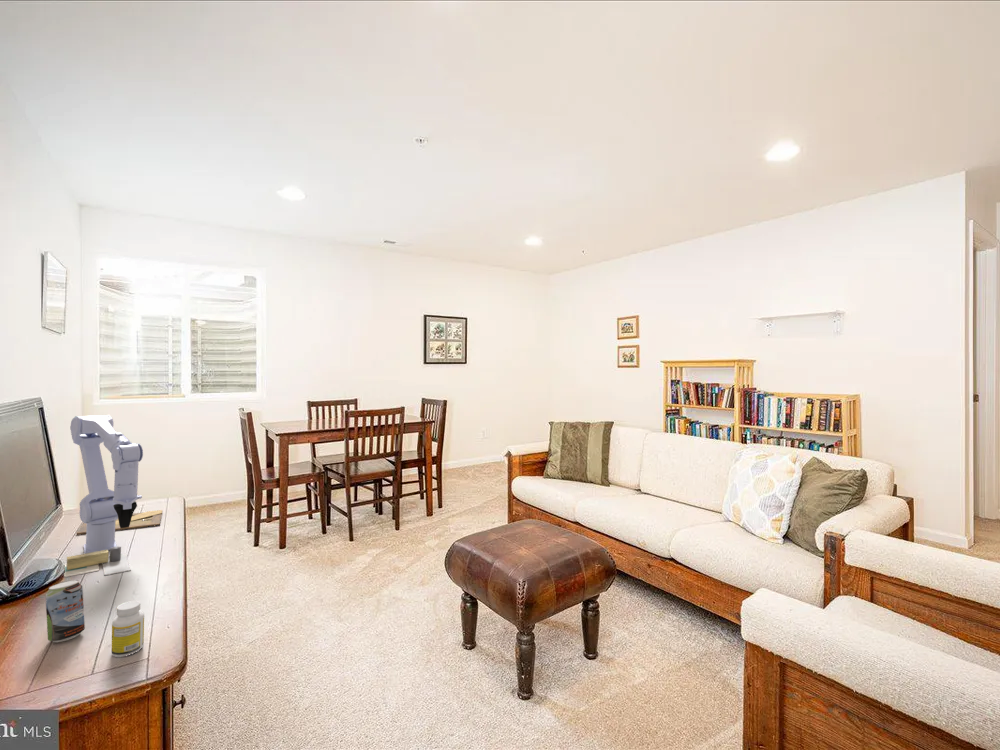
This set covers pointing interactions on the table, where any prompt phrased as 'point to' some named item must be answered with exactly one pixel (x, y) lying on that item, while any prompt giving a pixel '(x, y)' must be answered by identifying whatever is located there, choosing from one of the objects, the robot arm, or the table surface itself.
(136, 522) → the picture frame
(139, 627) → the supplement bottle
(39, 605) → the table surface
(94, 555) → the bar
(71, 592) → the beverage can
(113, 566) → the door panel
